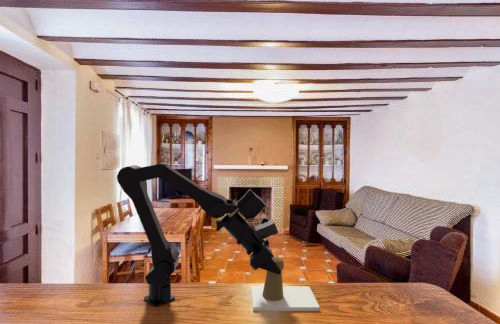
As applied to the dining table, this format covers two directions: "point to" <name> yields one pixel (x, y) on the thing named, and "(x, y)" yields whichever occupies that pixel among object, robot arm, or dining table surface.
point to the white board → (285, 300)
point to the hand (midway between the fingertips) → (278, 269)
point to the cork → (274, 283)
